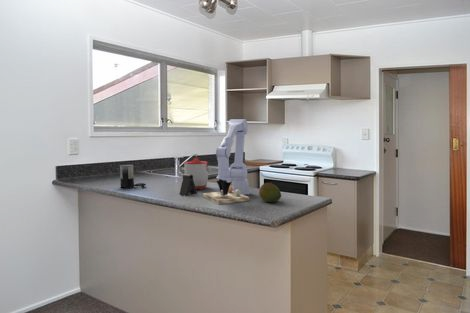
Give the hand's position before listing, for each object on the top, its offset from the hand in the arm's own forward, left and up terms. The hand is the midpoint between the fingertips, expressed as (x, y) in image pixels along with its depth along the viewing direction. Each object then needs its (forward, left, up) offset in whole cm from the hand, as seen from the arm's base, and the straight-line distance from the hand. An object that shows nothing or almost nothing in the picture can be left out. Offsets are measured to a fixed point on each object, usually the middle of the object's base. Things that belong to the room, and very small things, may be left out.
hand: (224, 193), depth 200 cm
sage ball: (-8, 0, 0) cm, 9 cm away
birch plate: (-3, -5, -4) cm, 7 cm away
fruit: (-21, +14, -4) cm, 26 cm away
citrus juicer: (-1, -44, -4) cm, 44 cm away
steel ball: (0, 0, +1) cm, 1 cm away
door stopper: (+11, -28, -4) cm, 30 cm away
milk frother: (+36, -69, -4) cm, 78 cm away
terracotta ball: (-8, -11, 0) cm, 14 cm away
